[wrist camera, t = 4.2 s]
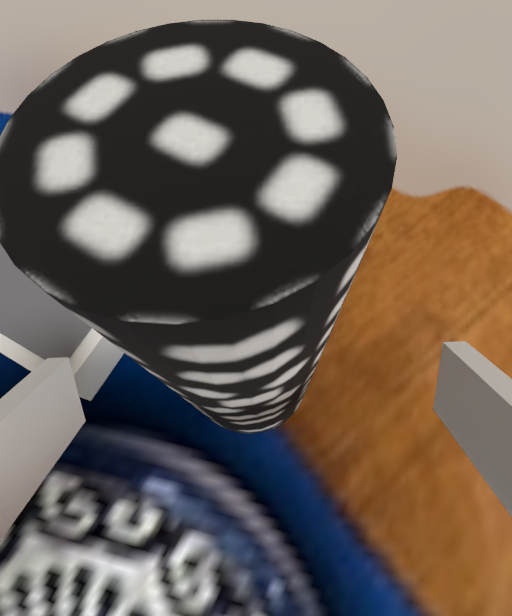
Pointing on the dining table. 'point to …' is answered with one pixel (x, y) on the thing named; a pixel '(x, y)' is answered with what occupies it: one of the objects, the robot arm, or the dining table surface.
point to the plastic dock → (49, 332)
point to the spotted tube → (202, 204)
